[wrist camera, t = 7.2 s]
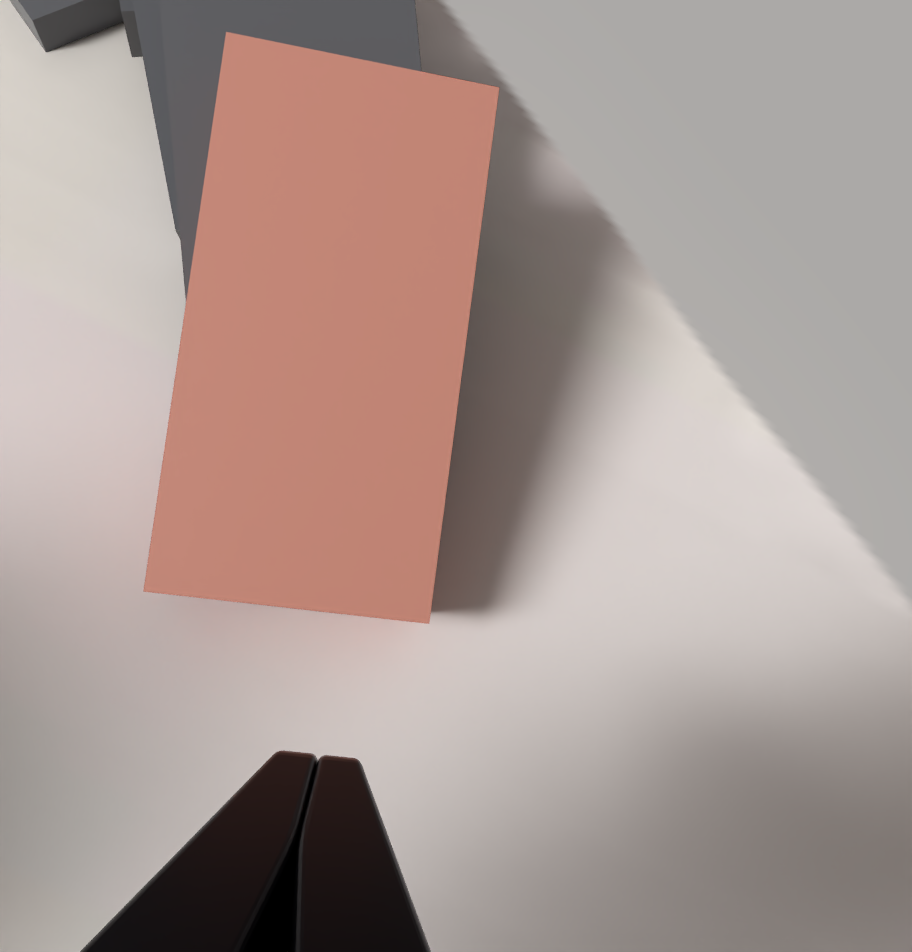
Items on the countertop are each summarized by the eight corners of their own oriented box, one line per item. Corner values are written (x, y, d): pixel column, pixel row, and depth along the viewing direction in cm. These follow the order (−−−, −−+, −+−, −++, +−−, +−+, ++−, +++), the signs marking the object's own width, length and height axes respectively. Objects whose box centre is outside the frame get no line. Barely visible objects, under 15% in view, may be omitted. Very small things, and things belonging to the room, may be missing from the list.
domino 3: (407, 199, 19) (323, -246, 19) (175, 230, 18) (87, -236, 18) (400, 222, 21) (322, -189, 21) (186, 251, 20) (105, -177, 20)
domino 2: (451, 389, 18) (405, -100, 18) (195, 407, 17) (150, -103, 17) (440, 398, 19) (398, -51, 19) (206, 416, 18) (165, -51, 19)
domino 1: (428, 623, 16) (499, 87, 16) (143, 591, 15) (225, 32, 16) (420, 612, 17) (483, 124, 18) (161, 583, 17) (235, 75, 17)
